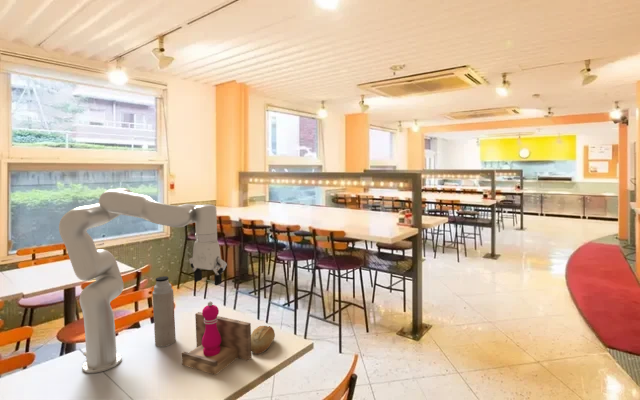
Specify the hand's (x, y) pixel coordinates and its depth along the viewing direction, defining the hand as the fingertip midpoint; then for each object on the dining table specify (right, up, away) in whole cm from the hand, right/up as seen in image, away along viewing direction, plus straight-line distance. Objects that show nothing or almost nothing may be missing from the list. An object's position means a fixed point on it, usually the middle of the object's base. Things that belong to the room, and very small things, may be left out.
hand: (208, 282), depth 133 cm
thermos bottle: (-23, -29, +17) cm, 41 cm away
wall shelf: (+1, -30, +3) cm, 30 cm away
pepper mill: (+1, -27, +2) cm, 28 cm away
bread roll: (+18, -30, +13) cm, 37 cm away
